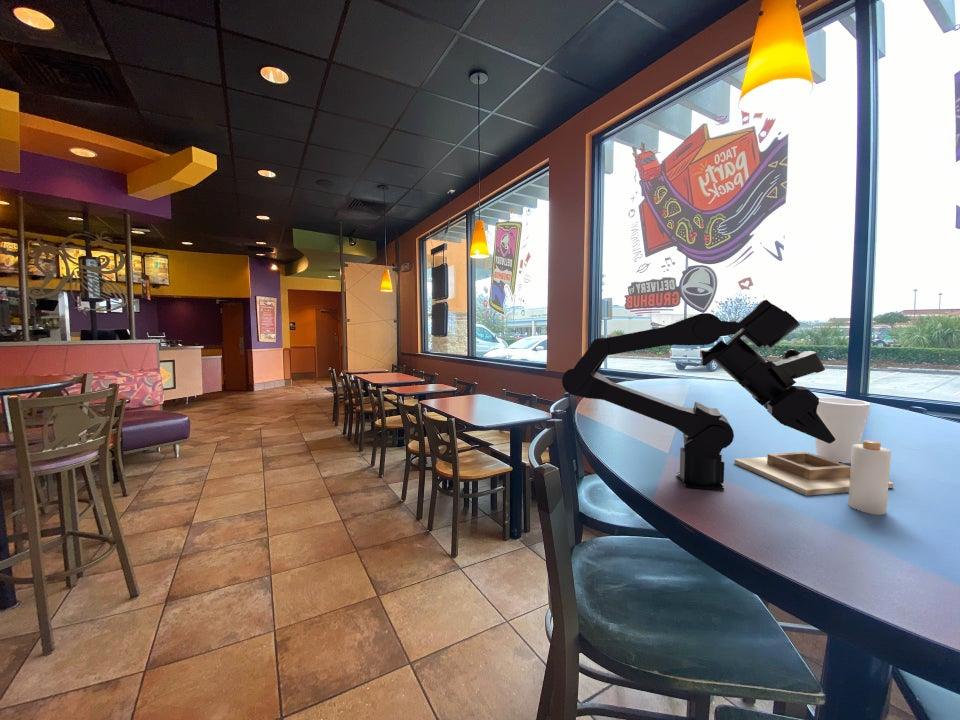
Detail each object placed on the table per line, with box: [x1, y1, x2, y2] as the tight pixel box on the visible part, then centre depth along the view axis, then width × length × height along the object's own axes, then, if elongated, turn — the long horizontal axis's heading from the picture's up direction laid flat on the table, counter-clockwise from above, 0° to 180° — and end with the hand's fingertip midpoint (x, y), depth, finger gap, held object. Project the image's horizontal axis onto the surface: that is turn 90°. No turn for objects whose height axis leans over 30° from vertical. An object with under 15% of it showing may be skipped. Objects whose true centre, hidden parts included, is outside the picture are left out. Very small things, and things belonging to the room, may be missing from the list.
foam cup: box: [814, 396, 871, 464], centre depth 85 cm, size 10×9×13 cm
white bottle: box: [847, 439, 892, 516], centre depth 62 cm, size 4×4×11 cm
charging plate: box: [734, 451, 895, 496], centre depth 76 cm, size 18×16×3 cm
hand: (822, 434), depth 64 cm, fingers open, 9 cm apart
